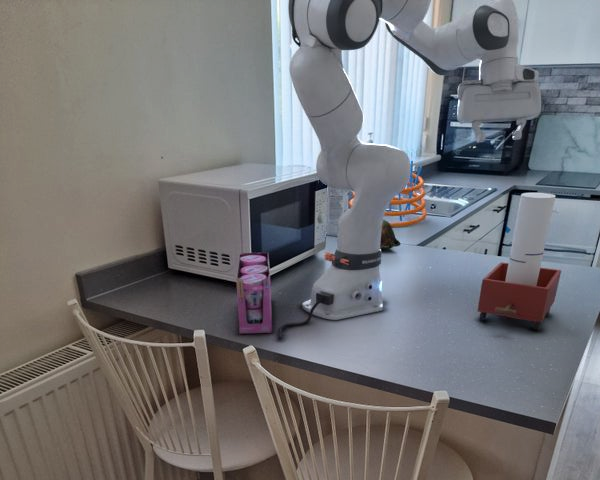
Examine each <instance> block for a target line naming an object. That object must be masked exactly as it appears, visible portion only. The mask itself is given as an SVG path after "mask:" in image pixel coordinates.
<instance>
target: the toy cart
mask: <svg viewBox="0 0 600 480" xmlns="http://www.w3.org/2000/svg"><path fill="white" fill-rule="evenodd" d="M508 264H509V262H499V263H498V264H497V265H496V266H495V267H494V268H492V270H490V272H488V274H486V276H484V277H483V278H482V279H481V287H480V292H479V298H478V305H477V312H479V321H483V322H484V321H485V320H486V318H487V316H488V314H490V315H496V316H501V317H506V318H512V319H517V320H518V319H520V320H524V321H530V322H534V326H533V330H534V331H537V332H539V331H540V329H541V326H542V322H543V320H544V318H546V317H548V316H549V314H550V312H551V308H552V306H553V304H554V303H555V301H556V296H557V291H558V288H559V284H560V278H561V274H562V269H557V268H555V269H554V268H549V267H547V268H546V267H540V271H539V276H538V281H537V285H536V286H531V285H524V284H517V283H511V282H505V280H506V275H507V269H508Z"/></svg>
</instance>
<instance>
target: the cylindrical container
mask: <svg viewBox="0 0 600 480" xmlns="http://www.w3.org/2000/svg"><path fill="white" fill-rule="evenodd" d="M555 201H556V195H555V194H553V193H547V192H523V193H521V194H520V200H519V205H518V209H517V214H516V215H517V216H516V221H515V226H514V231H513V237H512V242H511V248H510V254H509V259H508V263H509V264H508V269H507V275H506V280H505V282H511V283H517V284H524V285H531V286H536V285H537V281H538V276H539V271H540V268H542V267H541V266H542V261H543V257H544V251H545V247H546V243H547V238H548V234H549V229H550V225H551V224H550V223H551V219H552V215H553V210H554V205H555Z"/></svg>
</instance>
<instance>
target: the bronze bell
mask: <svg viewBox="0 0 600 480" xmlns="http://www.w3.org/2000/svg"><path fill="white" fill-rule="evenodd" d="M390 223H391V222H389V221H388V220H387V219H384V218H383V222H382V231H381V242H380V249H381V250H385V251H387V250H389V249H393V248H398V247H400V246H401V244H402V243H401V241H399V240H398V239H397V238H396V234H395V231H394V229H393V227H391V225H390Z"/></svg>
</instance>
